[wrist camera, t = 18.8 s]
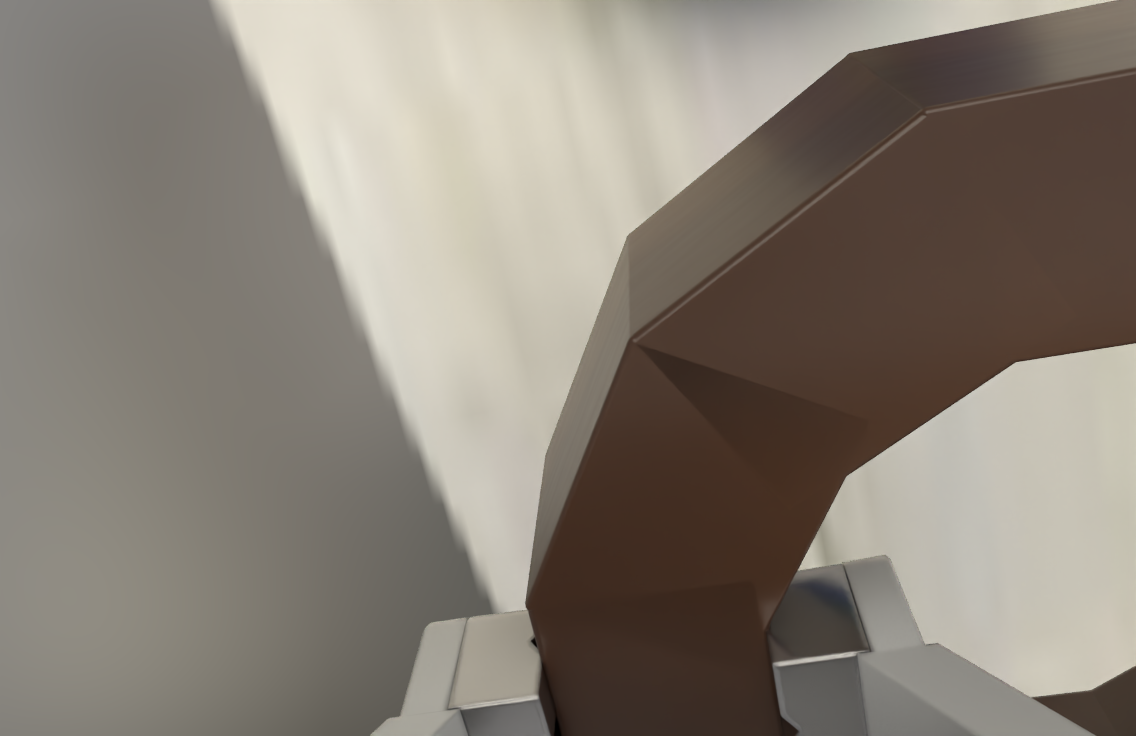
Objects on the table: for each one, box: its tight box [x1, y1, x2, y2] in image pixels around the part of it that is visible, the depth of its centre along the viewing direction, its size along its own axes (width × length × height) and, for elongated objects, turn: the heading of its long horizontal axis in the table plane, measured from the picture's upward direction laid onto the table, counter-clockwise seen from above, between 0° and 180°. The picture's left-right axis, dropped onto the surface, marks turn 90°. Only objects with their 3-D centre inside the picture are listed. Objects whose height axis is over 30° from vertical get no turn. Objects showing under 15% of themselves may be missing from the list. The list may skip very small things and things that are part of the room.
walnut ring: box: [525, 0, 1136, 736], centre depth 12 cm, size 12×12×3 cm
